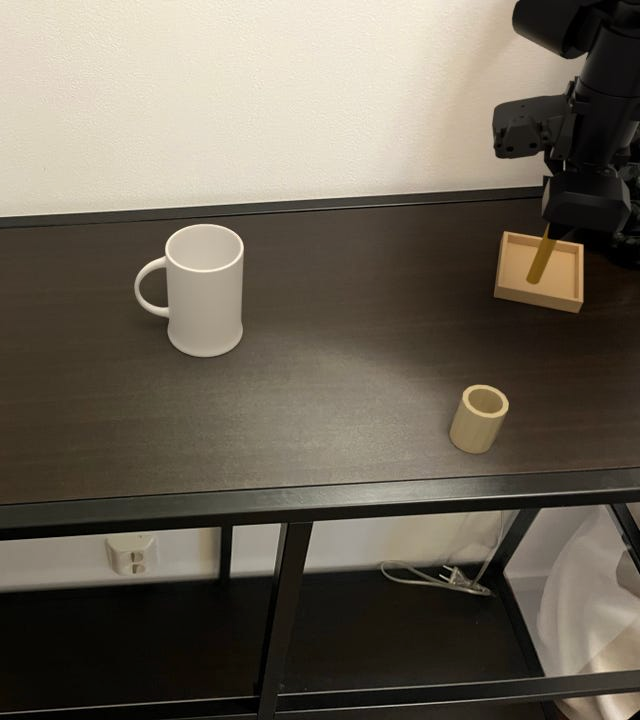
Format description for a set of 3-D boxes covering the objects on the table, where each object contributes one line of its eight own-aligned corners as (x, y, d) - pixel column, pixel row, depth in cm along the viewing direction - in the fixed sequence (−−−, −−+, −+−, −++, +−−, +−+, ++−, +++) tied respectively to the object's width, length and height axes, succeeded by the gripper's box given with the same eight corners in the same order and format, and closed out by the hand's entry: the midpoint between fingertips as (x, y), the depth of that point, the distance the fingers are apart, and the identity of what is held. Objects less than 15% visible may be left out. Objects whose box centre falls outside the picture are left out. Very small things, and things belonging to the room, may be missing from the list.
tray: (500, 242, 94) (504, 231, 92) (578, 255, 91) (583, 244, 90) (493, 297, 87) (497, 286, 85) (577, 313, 84) (583, 302, 83)
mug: (136, 357, 83) (127, 273, 74) (142, 305, 89) (135, 222, 80) (243, 358, 82) (247, 273, 73) (242, 306, 88) (245, 222, 79)
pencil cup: (493, 427, 74) (509, 390, 70) (490, 458, 71) (507, 422, 67) (451, 417, 75) (465, 380, 71) (446, 447, 72) (460, 411, 68)
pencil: (539, 278, 78) (571, 201, 71) (539, 285, 77) (572, 209, 70) (526, 275, 78) (557, 199, 71) (525, 283, 77) (557, 206, 70)
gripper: (518, 25, 70) (474, 170, 81) (507, 122, 58) (458, 276, 69) (650, 38, 67) (585, 187, 78) (667, 144, 55) (588, 301, 66)
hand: (552, 233), depth 73 cm, fingers closed on pencil, 1 cm apart
